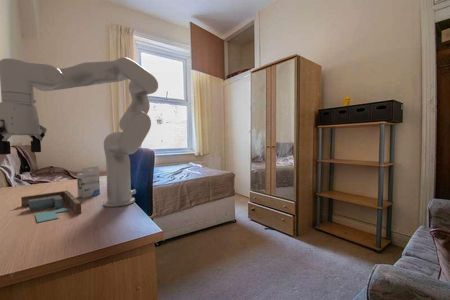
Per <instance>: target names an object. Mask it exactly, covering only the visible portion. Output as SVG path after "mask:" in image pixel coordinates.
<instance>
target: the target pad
mask: <svg viewBox="0 0 450 300" xmlns="http://www.w3.org/2000/svg"><path fill="white" fill-rule="evenodd" d="M68 211H69V210H68V208H67V207H63V208H61V209H56V210H55V209H53V210H47V211H42V212H41V211H40V212H36V213H34V215H35V220H36V222H37V224H39V223H44V222H49V221H53V220H57V219H59V216H58V215H57V214H60V213H65V212H68Z"/></svg>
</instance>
